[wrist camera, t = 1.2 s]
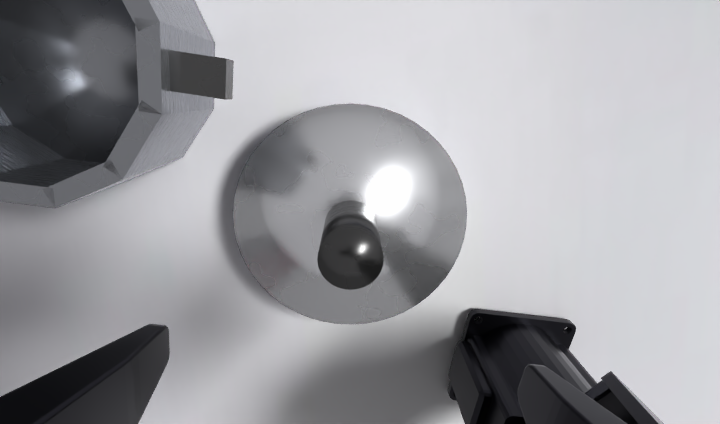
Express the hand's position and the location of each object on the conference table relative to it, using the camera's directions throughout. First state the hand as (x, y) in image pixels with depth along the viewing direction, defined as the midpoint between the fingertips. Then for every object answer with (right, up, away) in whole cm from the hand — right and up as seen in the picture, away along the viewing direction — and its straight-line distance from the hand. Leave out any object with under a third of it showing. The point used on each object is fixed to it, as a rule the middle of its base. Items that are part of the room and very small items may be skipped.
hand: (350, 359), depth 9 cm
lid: (0, +4, +11) cm, 11 cm away
